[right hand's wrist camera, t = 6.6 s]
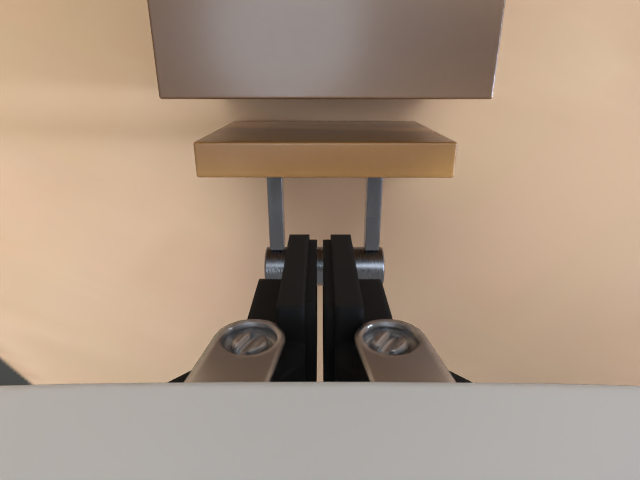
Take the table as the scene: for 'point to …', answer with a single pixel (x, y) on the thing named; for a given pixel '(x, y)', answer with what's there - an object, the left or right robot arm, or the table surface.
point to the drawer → (325, 169)
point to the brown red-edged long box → (326, 48)
